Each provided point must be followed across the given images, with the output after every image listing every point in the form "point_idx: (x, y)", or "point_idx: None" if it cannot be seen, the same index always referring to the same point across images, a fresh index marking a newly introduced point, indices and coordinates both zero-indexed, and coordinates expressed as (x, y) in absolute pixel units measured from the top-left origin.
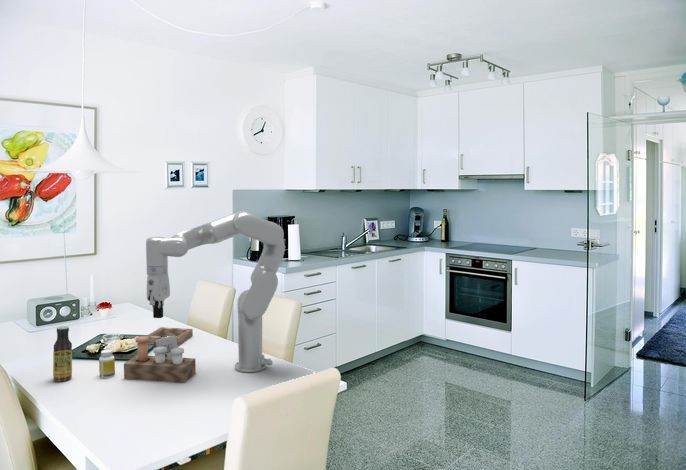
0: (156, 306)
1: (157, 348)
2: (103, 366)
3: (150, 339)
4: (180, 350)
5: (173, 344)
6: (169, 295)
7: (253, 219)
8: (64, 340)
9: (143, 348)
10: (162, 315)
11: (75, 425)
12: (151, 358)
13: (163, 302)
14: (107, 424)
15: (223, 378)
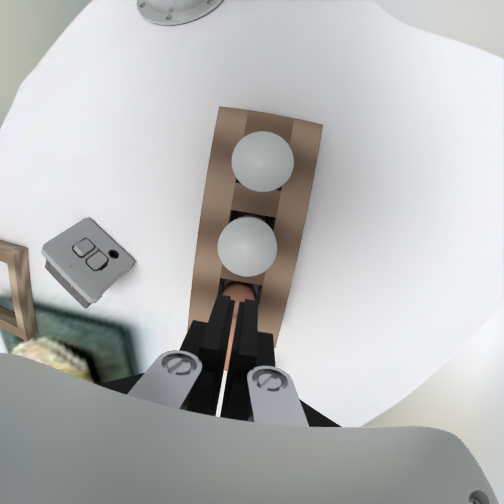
0: (304, 411)
1: (246, 259)
2: None
3: (27, 325)
4: (275, 143)
5: (70, 243)
6: (3, 357)
7: None
8: None
9: None
10: (230, 302)
11: (484, 312)
12: (221, 276)
13: (148, 380)
14: (495, 260)
15: (270, 34)
